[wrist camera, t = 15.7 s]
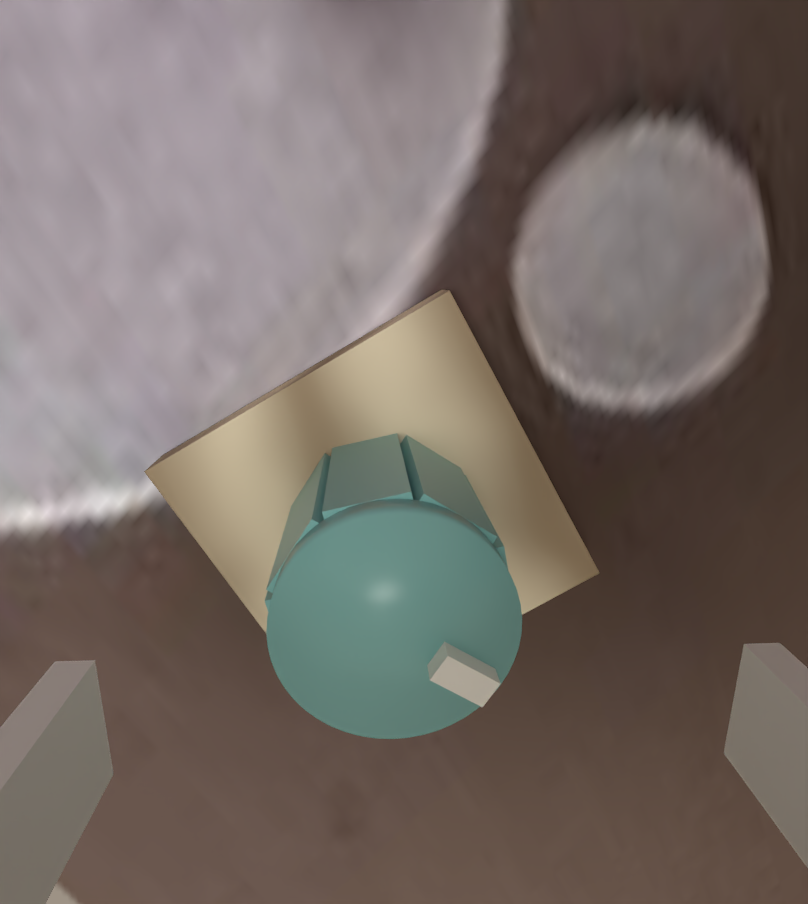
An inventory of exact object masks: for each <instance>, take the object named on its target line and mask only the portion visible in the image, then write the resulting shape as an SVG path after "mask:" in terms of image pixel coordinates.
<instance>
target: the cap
mask: <svg viewBox="0 0 808 904" xmlns="http://www.w3.org/2000/svg"><path fill="white" fill-rule="evenodd" d="M266 590H268V591H267V594H266V598H265V604H266V607H267V610H268V616H267V630H266V633H267V644H268V650H269V654H270V658H271V662H272V664H273V667H274V669H275V672H276V674H277V676H278V678H279V679H280V681H281V683H282V685H283V686H284V688H285V689H286V690H287V692H288V693H289V694H290V695H291V697H292V698H293V699H294V700H295V701H296V702H297V703H298V704H299V705H300V706H301V707H302V708H303V709H304V710H306V711H307V712H308V713H310V714H311V715H313V716H314V717H315V718H317V719H319V720H320V721H322V722H324V723H326V724H328V725H329V726H332V727H334V728H336V729H339V730H341V731H344V732H347V733H351V734H355V735H358V736H364V737H370V738H381V739H397V738H409V737H414V736H420V735H424V734H428V733H431V732H435V731H438V730H440V729H443V728H445V727H448V726H450V725H452V724H454V723H456V722H458V721H459V720H461V719H463V718H465V717H466V716H468V715H469V714H471V713H472V712H474V711H475V710H476V709H478V708H479V707H480V706H481V707H483V706H484V705H485V703H486V702H487V701H488V700H489V698H490V697H491V696H492V694H493V693H494V692H495V691H496V690H497V689H498V688H499V686H500V685H501V683H502V682H503V680H504V679H505V677H506V676H507V674H508V672H509V670H510V668H511V666H512V664H513V662H514V660H515V657H516V654H517V651H518V648H519V644H520V638H521V633H522V612H521V604H520V600H519V596H518V592H517V589H516V586H515V584H514V582H513V579H512V577H511V575H510V573H509V571H508V565H507V560H506V554H505V549H504V545H503V543H502V542H501V540H500V538H499V536H498V534H497V532H496V530H495V529H494V527H493V525H492V523H491V521H490V519H489V517H488V516H487V514H486V512H485V510H484V508H483V506H482V505H481V503H480V501H479V499H478V497H477V495H476V493H475V492H474V490H473V488H472V486H471V484H470V482H469V481H468V479H467V477H466V475H464V473H463V472H462V470H461V468H460V467H458V466H457V465H455V464H453V463H452V462H450V461H449V460H447V459H445V458H444V457H442V456H440V455H439V454H437V453H435V452H434V451H432V450H431V449H429V448H427V447H426V446H424V445H422V444H421V443H419V442H417V441H416V440H414V439H413V438H411V437H409V436H408V435H406V436H405V437H404V439H403V440H402V442H401V443H399V439H398V435H397V433H396V434H391V435H387V436H382V437H378V438H374V439H369V440H365V441H360V442H356V443H351V444H347V445H342V446H338V447H334V448H332V453H331V456H329V455H327V454H326V453H325V454H324V455H323V457H322V458H321V460H320V461H319V463H318V465H317V466H316V468H315V469H314V471H313V473H312V474H311V476H310V477H309V479H308V480H307V482H306V484H305V485H304V487H303V488H302V490H301V492H300V493H299V495H298V496H297V498H296V499H295V501H294V503H293V504H292V506H291V509H290V512H289V515H288V519H287V522H286V525H285V529H284V532H283V535H282V539H281V542H280V545H279V549H278V552H277V555H276V559H275V562H274V565H273V568H272V572H271V575H270V578H269V582H268V585H267V588H266Z"/></svg>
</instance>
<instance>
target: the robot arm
mask: <svg viewBox="0 0 808 904" xmlns="http://www.w3.org/2000/svg"><path fill="white" fill-rule="evenodd" d="M724 754H725V756H726V757H727V758H728V760H729V761H730V762H731V764H732V765H733V767H734V768H735V769H736V771H737V772H738V773H739V775H740V776H741V778H742V779H743V780H744V782H745V783H746V784H747V786H748V787H749V788H750V790H751V791H752V793H753V794H754V795H755V797H756V798H757V799H758V801H759V802H760V804H761V805H762V806H763V808H764V809H765V810H766V812H767V813H768V814H769V816H770V817H771V819H772V820H773V821H774V823H775V824H776V825H777V827H778V828H779V830H780V831H781V832H782V834H783V835H784V836H785V838H786V839H787V840H788V842H789V843H790V845H791V846H792V847H793V849H794V850H795V851H796V853H797V854H798V856H799V857H800V858H801V860H802V861H803V862H804V864H805V865H806V867H807V868H808V668H807V667H806V666H805V665H804V664H803V663H801V662H800V661H799V660H798V659H797V658H796V657H795V656H794V655H793V654H792V653H790V652H789V651H788V650H787V649H786V648H785V647H784V646H783V645H782V644H781V643H756V644H744V646H743V651H742V657H741V662H740V668H739V673H738V678H737V684H736V689H735V695H734V700H733V705H732V711H731V716H730V722H729V727H728V732H727V738H726V743H725V749H724ZM112 776H113V768H112V762H111V756H110V749H109V743H108V737H107V731H106V725H105V719H104V713H103V707H102V701H101V694H100V688H99V682H98V676H97V670H96V664H95V660H92V661H55V662H54V663H53V665H52V666H51V667H50V668H49V669H48V671H47V672H46V673H45V674H44V675H43V677H42V678H41V679H40V680H39V681H38V683H37V684H36V685H35V686H34V687H33V689H32V690H31V691H30V692H29V693H28V695H27V696H26V697H25V698H24V700H23V701H22V702H21V703H20V704H19V706H18V707H17V708H16V709H15V710H14V712H13V713H12V714H11V715H10V716H9V718H8V719H7V720H6V721H5V722H4V724H3V725H2V726H1V727H0V904H46V902H47V900H48V898H49V896H50V894H51V892H52V890H53V888H54V886H55V885H56V883H57V881H58V879H59V877H60V875H61V873H62V871H63V869H64V867H65V865H66V864H67V862H68V860H69V858H70V856H71V854H72V852H73V850H74V848H75V846H76V844H77V843H78V841H79V839H80V837H81V835H82V833H83V831H84V829H85V827H86V825H87V823H88V822H89V820H90V818H91V816H92V814H93V812H94V810H95V808H96V806H97V804H98V802H99V801H100V799H101V797H102V795H103V793H104V791H105V789H106V787H107V785H108V783H109V781H110V780H111V778H112Z"/></svg>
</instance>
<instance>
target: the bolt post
mask: <svg viewBox="0 0 808 904" xmlns="http://www.w3.org/2000/svg"><path fill="white" fill-rule="evenodd" d="M396 433H397V435H398V439H399V443H401V442H402V440H403V439H404V437H405V436H406V435H408V436H409V437H411V438H413V439H414V440H416V441H417V442H419V443H421V444H422V445H424V446H426V447H427V448H429V449H431V450H432V451H434V452H435V453H437V454H439V455H440V456H442V457H444V458H445V459H447V460H449V461H450V462H452V463H453V464H455V465H457V466H458V467H460V468H461V470H462V472H463V473H464V475H466V477H467V479H468V481H469V482H470V484H471V486H472V488H473V490H474V492H475V493H476V495H477V497H478V499H479V501H480V503H481V505H482V506H483V508H484V510H485V512H486V514H487V516H488V517H489V519H490V521H491V523H492V525H493V527H494V529H495V530H496V532H497V534H498V536H499V538H500V540H501V542H502V543H503V545H504V549H505V554H506V560H507V565H508V571H509V573H510V575H511V577H512V579H513V582H514V584H515V586H516V589H517V592H518V596H519V600H520V604H521V612H522V615H523V614H524V613H526V612H528V611H530V610H532V609H534V608H536V607H537V606H539V605H541V604H543V603H545V602H547V601H549V600H550V599H552V598H554V597H556V596H558V595H560V594H562V593H563V592H565V591H567V590H569V589H571V588H573V587H575V586H576V585H578V584H580V583H582V582H584V581H586V580H588V579H589V578H591V577H593V576H595V575H597V574H599V571H598V569H597V567H596V566H595V564H594V562H593V560H592V558H591V556H590V554H589V552H588V550H587V549H586V547H585V545H584V543H583V541H582V539H581V537H580V535H579V533H578V532H577V530H576V528H575V526H574V524H573V522H572V520H571V518H570V517H569V515H568V513H567V511H566V509H565V507H564V505H563V503H562V501H561V500H560V498H559V496H558V494H557V492H556V490H555V488H554V486H553V485H552V483H551V481H550V479H549V477H548V475H547V473H546V471H545V469H544V468H543V466H542V464H541V462H540V460H539V458H538V456H537V454H536V452H535V451H534V449H533V447H532V445H531V443H530V441H529V439H528V437H527V436H526V434H525V432H524V430H523V428H522V426H521V424H520V422H519V420H518V419H517V417H516V415H515V413H514V411H513V409H512V407H511V405H510V404H509V402H508V400H507V398H506V396H505V394H504V392H503V390H502V388H501V387H500V385H499V383H498V381H497V379H496V377H495V375H494V373H493V371H492V370H491V368H490V366H489V364H488V362H487V360H486V358H485V356H484V355H483V353H482V351H481V349H480V347H479V345H478V343H477V341H476V339H475V338H474V336H473V334H472V332H471V330H470V328H469V326H468V324H467V323H466V321H465V319H464V317H463V315H462V313H461V311H460V309H459V307H458V306H457V304H456V302H455V300H454V298H453V296H452V294H451V292H450V291H449V290H440V291H438V292H437V293H435V294H433V295H432V296H430V297H428V298H427V299H425V300H423V301H422V302H420V303H418V304H416V305H415V306H413V307H411V308H410V309H408V310H406V311H405V312H403V313H401V314H400V315H398V316H396V317H395V318H393V319H391V320H390V321H388V322H386V323H384V324H383V325H381V326H379V327H378V328H376V329H374V330H373V331H371V332H369V333H368V334H366V335H364V336H363V337H361V338H359V339H358V340H356V341H354V342H352V343H351V344H349V345H347V346H346V347H344V348H342V349H341V350H339V351H337V352H336V353H334V354H332V355H331V356H329V357H327V358H326V359H324V360H322V361H320V362H319V363H317V364H315V365H314V366H312V367H310V368H309V369H307V370H305V371H304V372H302V373H300V374H299V375H297V376H295V377H294V378H292V379H290V380H288V381H287V382H285V383H283V384H282V385H280V386H278V387H277V388H275V389H273V390H272V391H270V392H268V393H267V394H265V395H263V396H262V397H260V398H258V399H257V400H255V401H253V402H251V403H250V404H248V405H246V406H245V407H243V408H241V409H240V410H238V411H236V412H235V413H233V414H231V415H230V416H228V417H226V418H225V419H223V420H221V421H219V422H218V423H216V424H214V425H213V426H211V427H209V428H208V429H206V430H204V431H203V432H201V433H199V434H198V435H196V436H194V437H193V438H191V439H189V440H187V441H186V442H184V443H182V444H181V445H179V446H177V447H176V448H174V449H172V450H171V451H169V452H167V453H166V454H164V455H162V456H161V457H160V458H159V459H158V460H157V461H156V462H155V463H153V464H152V465H151V466H150V467H149V468H148V469H147V470H146V471H144V472H145V473H146V475H147V476H148V477H149V478H150V480H151V481H152V482H153V484H154V485H155V486H156V488H157V489H158V490H159V492H160V493H161V494H162V496H163V497H164V498H165V500H166V501H167V502H168V504H169V505H170V506H171V508H172V509H173V510H174V512H175V513H176V514H177V516H178V517H179V518H180V520H181V521H182V522H183V524H184V525H185V526H186V528H187V529H188V530H189V532H190V533H191V534H192V536H193V537H194V538H195V540H196V541H197V542H198V544H199V545H200V546H201V548H202V549H203V550H204V551H205V553H206V554H207V555H208V557H209V558H210V559H211V561H212V562H213V563H214V565H215V566H216V567H217V569H218V570H219V571H220V573H221V574H222V575H223V577H224V578H225V579H226V581H227V582H228V583H229V585H230V586H231V587H232V589H233V590H234V591H235V593H236V594H237V595H238V597H239V598H240V599H241V601H242V602H243V603H244V605H245V606H246V607H247V609H248V610H249V611H250V613H251V614H252V615H253V617H254V618H255V619H256V621H257V622H258V623H259V625H260V626H261V627H262V628H263V630H264V631H265V632H266V630H267V616H268V610H267V607H266V604H265V598H266V594H267V591H268V590H266V588H267V585H268V582H269V578H270V575H271V572H272V568H273V565H274V562H275V559H276V555H277V552H278V549H279V545H280V542H281V539H282V535H283V532H284V529H285V525H286V522H287V519H288V515H289V512H290V509H291V506H292V504H293V503H294V501H295V499H296V498H297V496H298V495H299V493H300V492H301V490H302V488H303V487H304V485H305V484H306V482H307V480H308V479H309V477H310V476H311V474H312V473H313V471H314V469H315V468H316V466H317V465H318V463H319V461H320V460H321V458H322V457H323V455H324V454H325V453H326V454H327V455H329V456H331V453H332V448H334V447H338V446H342V445H347V444H351V443H356V442H360V441H365V440H369V439H374V438H378V437H382V436H387V435H391V434H396ZM266 634H267V633H266Z"/></svg>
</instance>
